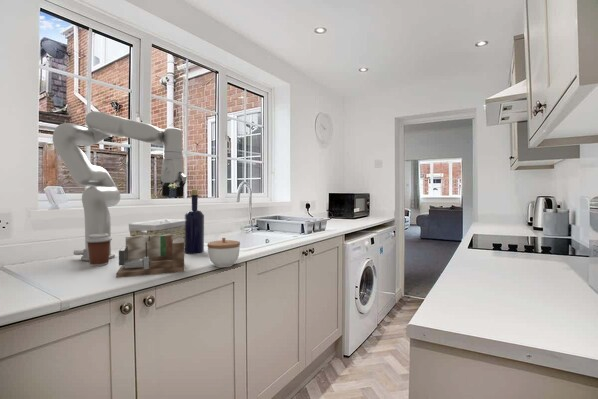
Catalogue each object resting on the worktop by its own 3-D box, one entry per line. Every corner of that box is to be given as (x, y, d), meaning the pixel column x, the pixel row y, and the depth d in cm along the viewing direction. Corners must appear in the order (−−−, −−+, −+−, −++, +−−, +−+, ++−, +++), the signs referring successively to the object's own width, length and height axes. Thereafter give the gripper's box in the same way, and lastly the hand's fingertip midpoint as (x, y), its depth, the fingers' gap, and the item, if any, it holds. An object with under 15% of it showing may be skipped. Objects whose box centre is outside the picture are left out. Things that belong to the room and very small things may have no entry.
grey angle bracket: (118, 271, 110) (117, 251, 110) (123, 264, 121) (123, 246, 121) (142, 269, 113) (142, 250, 113) (145, 262, 123) (145, 245, 123)
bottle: (208, 251, 155) (208, 190, 153) (192, 255, 148) (193, 190, 145) (195, 248, 160) (196, 188, 158) (180, 251, 152) (180, 189, 150)
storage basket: (154, 256, 145) (153, 224, 144) (127, 254, 150) (126, 222, 150) (188, 247, 167) (188, 219, 167) (164, 245, 173) (164, 218, 172)
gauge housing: (116, 277, 109) (115, 242, 109) (123, 267, 123) (123, 236, 123) (184, 271, 117) (184, 239, 117) (183, 263, 131) (183, 234, 131)
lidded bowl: (232, 269, 120) (232, 240, 120) (201, 268, 123) (201, 239, 122) (244, 262, 132) (244, 236, 132) (216, 261, 135) (216, 235, 135)
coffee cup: (117, 261, 133) (117, 233, 132) (101, 267, 124) (101, 236, 123) (97, 261, 134) (96, 232, 133) (80, 266, 125) (79, 236, 124)
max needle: (143, 269, 113) (143, 242, 113) (144, 268, 114) (143, 241, 114) (148, 268, 114) (148, 242, 113) (149, 268, 115) (148, 241, 114)
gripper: (153, 156, 140) (153, 195, 141) (178, 155, 131) (177, 196, 132) (168, 158, 147) (168, 195, 147) (193, 156, 137) (192, 196, 138)
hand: (172, 196), depth 139 cm, fingers open, 9 cm apart
